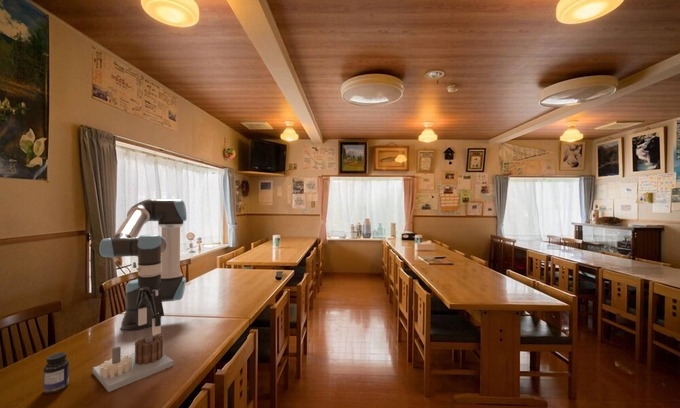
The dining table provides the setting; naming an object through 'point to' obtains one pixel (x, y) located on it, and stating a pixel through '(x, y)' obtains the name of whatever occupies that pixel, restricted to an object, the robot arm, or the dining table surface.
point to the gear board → (127, 369)
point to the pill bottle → (56, 373)
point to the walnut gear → (148, 350)
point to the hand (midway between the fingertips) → (149, 329)
